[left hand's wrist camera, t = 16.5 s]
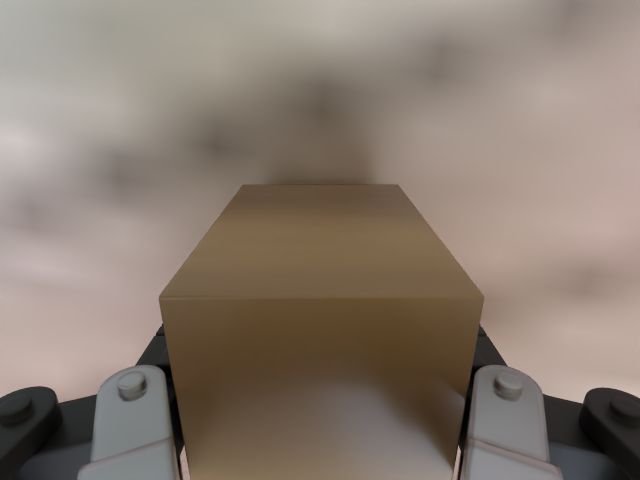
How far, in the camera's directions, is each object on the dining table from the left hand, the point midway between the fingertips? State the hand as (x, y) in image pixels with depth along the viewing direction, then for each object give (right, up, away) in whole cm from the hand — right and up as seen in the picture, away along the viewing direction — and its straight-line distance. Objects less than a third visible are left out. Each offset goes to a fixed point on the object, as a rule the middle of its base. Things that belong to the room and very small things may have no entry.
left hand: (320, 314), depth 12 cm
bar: (0, -8, +7) cm, 11 cm away
